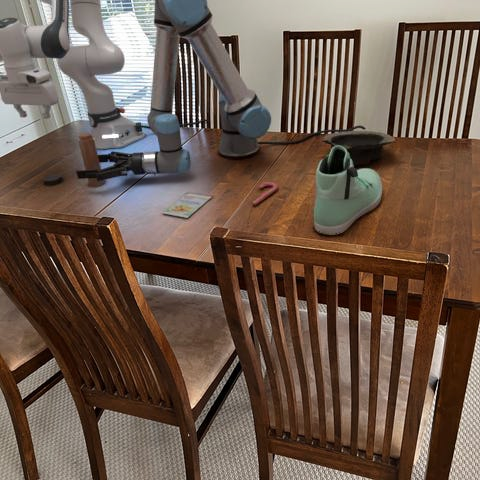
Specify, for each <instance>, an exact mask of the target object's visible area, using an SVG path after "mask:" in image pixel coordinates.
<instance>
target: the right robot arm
mask: <svg viewBox="0 0 480 480" xmlns="http://www.w3.org/2000/svg"><path fill="white" fill-rule="evenodd" d="M212 21H213V13H212V12H211V10H210V8H209V6H208V0H154V14H153V25H154V26H155V28H156V33H155V45H154V46H155V47H154V58H153V71H152V85H151V97H150V109H149V112H148V114H147V118H146V121H147V125H148V126H149V127H150V128H151V129H152V130H151V129H150V130H151V132H152V131H153V132H154V135H155V136H156V137H157V143H158V148H159V150H158V151H157V150H155V151H153V150H152V151H145V152H142V151H141V152H132V153H127V152H121V151H115V150H114V151H113V150H112V151H110V153H105V154H98V157H99V161H100V164H101V163H102V164H103V163H109V164H110V163H113V165H111V166H107V167H104V168H101V170H97V169H95V170H86V169H82V170H79V169H78V170H76V171H75V173H76V176H77V180H85V179H87V180H88V178H97V181H102V180H104V181H106V180H110V179H114V178H119V177H126V176H128V172H132V173H133V175H135V176H144V175H145V174H146V175H154V176H157V175H159V174H180V173H181V174H182V173H188V172H189V171H191V166H192V161H191V160H192V158H191V153H190V151H189V150H188V149H184V148H183V145H182V136H181V129H180V128H181V127H180V125H181V124H180V122H179V118H178V116H177V115H176V114H174V113H173V108H174V99H175V89H176V88H175V87H176V78H177V69H178V59H179V51H180V50H179V49H180V38H182V39H186V40H187V41H188V42H189V45H190V46H191V48H192V49H193V52H194V53H195V54H196V56H197V58H198V59H199V62H200V63H201V64H202V66H203V68H204V69H205V71H206V73H207V75H208V76H209V77H210V79H211V81H212V82H213V84H214V86H215V88H216V90H217V91H218V93H219V96H218V98H219V100H218V104H219V112H220V123H221V133H222V134H221V137H220V143H219V145H218V152H219V155H220V156H222V158H223V157H224V158H227V159H237V160H238V159H246V158H250V157H253V156H255V155H256V154H258V153H259V152H260V145H290V144H298V143H301V142H304V141H305V140H306V139H308V138H310V137H313V136H317V135H320V134H325V133H337V132H344V131H345V132H348V131H355V130H357V129H362V130H363V131H366V127H365V126H364V125H356V126H352V127H350V128H345V129H344V128H343V129H323V130H319V131H315V132H312V133H308V134H307V135H305V136H303V137H302V138H299V139H296V140H289V141H258V139H260V138H261V137H263V136H264V135H265V134H267V132H268V131H269V129H270V126H271V123H272V115H271V112H270V111H269V110H268V108H267V107H266V106H264V105H263V104H262V102H261V101H260V99H259V97H258V95H257V93H256V91H255V90H253V89H251V88H250V89H249V88H248V87H247V85H246V83H245V81H244V80H243V77H242V76H241V74H240V73H239V71H238V69H237V67H236V65H235V63H234V62H233V60H232V58H231V57H230V55H229V52H228V51H227V49H226V48H225V46H224V44H223V42H222V40H221V38H220V37H219V35H218V33H217V31H216V29H215V28H214V26H213V23H212ZM153 132H152V133H153Z"/></svg>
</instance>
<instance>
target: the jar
mask: <svg viewBox="0 0 480 480" xmlns="http://www.w3.org/2000/svg"><path fill="white" fill-rule="evenodd" d="M77 141H78V145H79V150H80V154H81V157H82V162H83V165H84V170H95V169H97V170H101V169H102V166H101V163H100V161H99V157H98V155H99V153H98V150H97V148H96V144H95V140H94V137H93V136H92V132H88V131H87V132H85V131H84V132H81V133H79V134H78V139H77ZM87 181H88V185H89V186H90V187H94V188H96V187H101V186H102V185H104V184H105V180H102V181H97V178H88V179H87Z"/></svg>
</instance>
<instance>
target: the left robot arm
mask: <svg viewBox="0 0 480 480" xmlns="http://www.w3.org/2000/svg"><path fill="white" fill-rule="evenodd" d="M39 2H41V3H44V4H47V5H50V6H51V16H50V18H51V19H50V22H49V23H46V24H44V25H43V24H41V25H27V24H24V23H21V21H20V20H19V18H16V17H5V18H2V19H0V56H1V58H2V60H3V68H4V71H5V73H6V74H0V98H1V101H2V103H3V104H4V105H13V108H14V109H15V111H16V112H17V113H18V115H19V117H20V118H26V117H28V113H27V111H26V110H24V109H23V108H22V106H42V109H44V112H42V113H41V114H42V118H43V119H50V118H51V113H50V111H51V108H52V107H53V106H55V105H57V104H58V103H59V101H60V99H59V95H58V94H59V93H58V92H57V88H56V85H55V83H54V82H53V80H51V79H52V74H51V72H50V71H48V70H45V69H43V68H40V67H39V66H36V64H35V62H34V60H33V59H56V61H57V66H58V68H59V70H60V72H62V73H63V75H65V76H67V77H69V78H70V79H71V80H73V82H74V83H75V84H76V85H77V86H78V88H79V89H80V91H81V93H82V95H83V98H84V101H85V104H86V109H87V118H88V122H89V125H90V127H91V128H90V129H91V134H92V136H93V137H94V140H95V144H96V149H98V150H107V149H121V148H122V149H123V148H124V147H127V146H128V145H131V144H132V143H135V142H137V141H139V140H141V139H143V138H145V137H146V135H145V133H144V131H143V129H149V130H150V131H151V132H152V133H154V132H153V131H152V129H151V128H150V127H149V125H143V124H142V122H141V121H139V122H134V121H133V120H131V119H129V118H127V117H125V116H123V115H122V114H125V112H126V109H125V108H124V107H123V108H122V107H117V106H116V103H115V97H114V94H113V90H112V88H111V87H110V86H109V85H107V84H105V83H103V82H101V81H99V80H98V79H97V77H96V76H105V75H112V74H116V73H119V72H121V71H122V70H123V69H124V67H125V62H126V60H125V54H124V52H123V50H122V49H121V47H119V46H118V45H117V44H115V43H114V42H113V41H112V39H110V37H109V36H108V35H107V33H106V30H105V27H104V21H103V14H102V4H101V0H39ZM70 14H71V25H72V28H73V29H74V31H75V32H76V33H78V34H79V35H81V36H83V37H86V38H87V39H88V42H89V44H87V45H71V41H70V35H69V17H70ZM204 122H205V123H208V124H209V123H211V121H210V120H209V119H206V118H205V119H201V120H199V121H195V122H186V123H181V124H180V128H182V127H187V126H188V127H189V126H194V125H199V124H201V123H204ZM154 134H155V133H154Z"/></svg>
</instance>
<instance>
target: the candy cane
mask: <svg viewBox="0 0 480 480" xmlns="http://www.w3.org/2000/svg"><path fill="white" fill-rule="evenodd" d="M267 187H271V188H269V190H267V191H266V192H264V193H262V195H260V196H259V197H257V198H256V199H255V200H253V201H252V205H253V206H257V205H258V204H260V203H261V202H262V201H264V200H265V199H266V198H268V197H269V196H271V195H272V194H274V193H276V191H277V190H278V189H279V185H278V184H277V183H275V182H272V181H266V182H263V183H262V182H261V184H260V185H259V186H258V188H259V190H263V189H264V188H267Z"/></svg>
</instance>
